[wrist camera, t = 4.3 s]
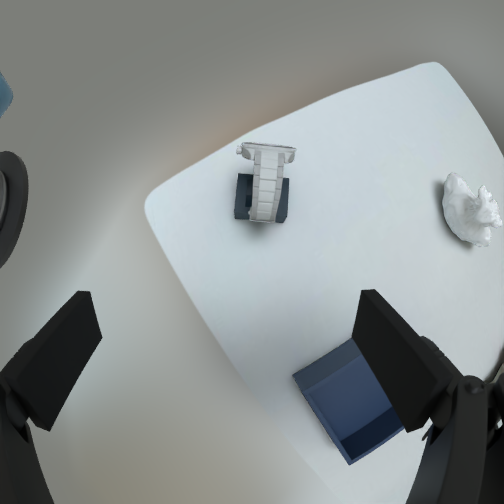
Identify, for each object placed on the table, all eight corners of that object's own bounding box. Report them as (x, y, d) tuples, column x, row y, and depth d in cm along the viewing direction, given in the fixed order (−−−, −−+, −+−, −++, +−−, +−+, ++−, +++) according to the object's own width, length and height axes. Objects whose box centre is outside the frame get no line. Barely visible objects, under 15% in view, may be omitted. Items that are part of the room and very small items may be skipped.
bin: (292, 375, 30) (301, 392, 24) (382, 315, 31) (405, 320, 26) (336, 444, 29) (349, 465, 23) (414, 389, 30) (435, 402, 25)
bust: (424, 187, 36) (435, 191, 26) (459, 162, 31) (479, 158, 22) (460, 252, 35) (477, 276, 25) (493, 228, 31) (519, 245, 21)
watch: (285, 172, 33) (304, 125, 22) (281, 238, 32) (302, 215, 21) (239, 168, 32) (238, 118, 21) (232, 233, 31) (227, 208, 21)
